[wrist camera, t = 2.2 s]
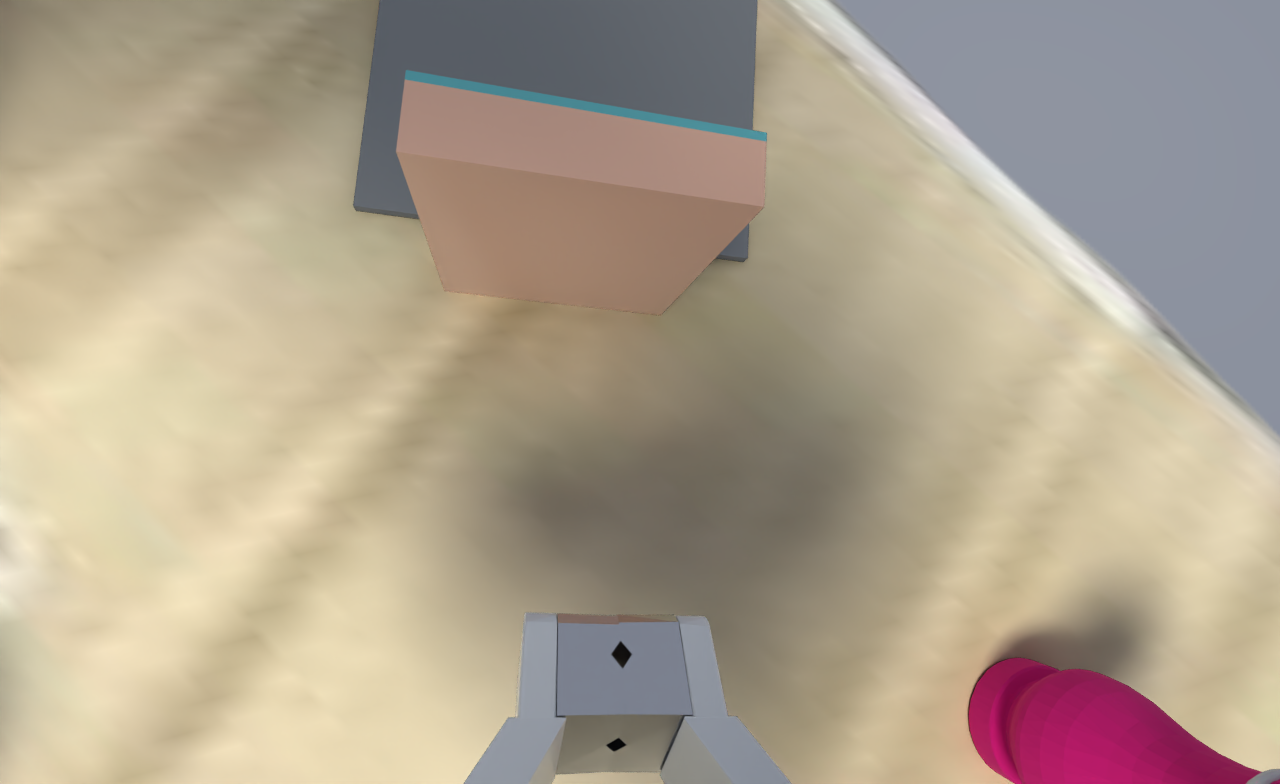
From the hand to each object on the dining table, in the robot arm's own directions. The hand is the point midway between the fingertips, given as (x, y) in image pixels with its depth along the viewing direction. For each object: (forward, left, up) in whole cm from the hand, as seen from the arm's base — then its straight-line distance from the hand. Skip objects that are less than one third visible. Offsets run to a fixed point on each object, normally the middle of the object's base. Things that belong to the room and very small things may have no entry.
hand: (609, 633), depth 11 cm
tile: (-2, +12, -21) cm, 25 cm away
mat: (-4, +22, -21) cm, 31 cm away
